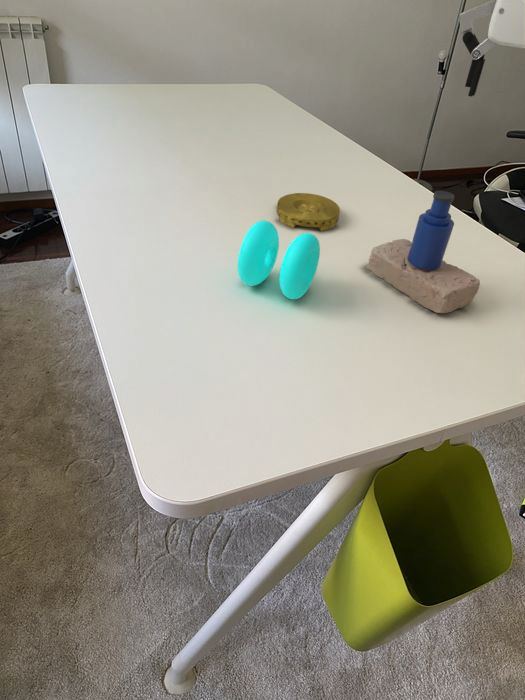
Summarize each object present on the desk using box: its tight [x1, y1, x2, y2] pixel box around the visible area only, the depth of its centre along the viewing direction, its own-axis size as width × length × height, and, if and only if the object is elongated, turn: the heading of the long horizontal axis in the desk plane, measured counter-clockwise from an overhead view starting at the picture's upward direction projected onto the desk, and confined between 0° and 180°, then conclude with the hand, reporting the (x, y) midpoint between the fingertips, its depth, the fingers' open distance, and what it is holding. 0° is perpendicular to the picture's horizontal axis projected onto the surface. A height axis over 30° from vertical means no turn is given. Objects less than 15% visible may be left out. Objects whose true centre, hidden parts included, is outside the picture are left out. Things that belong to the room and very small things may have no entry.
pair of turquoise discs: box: [237, 220, 321, 300], centre depth 82 cm, size 10×10×10 cm
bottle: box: [408, 190, 455, 270], centre depth 83 cm, size 5×5×11 cm
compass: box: [276, 192, 341, 232], centre depth 106 cm, size 12×12×2 cm
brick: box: [366, 238, 481, 314], centre depth 88 cm, size 17×8×5 cm, turn 35°
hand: (511, 100), depth 68 cm, fingers open, 9 cm apart
